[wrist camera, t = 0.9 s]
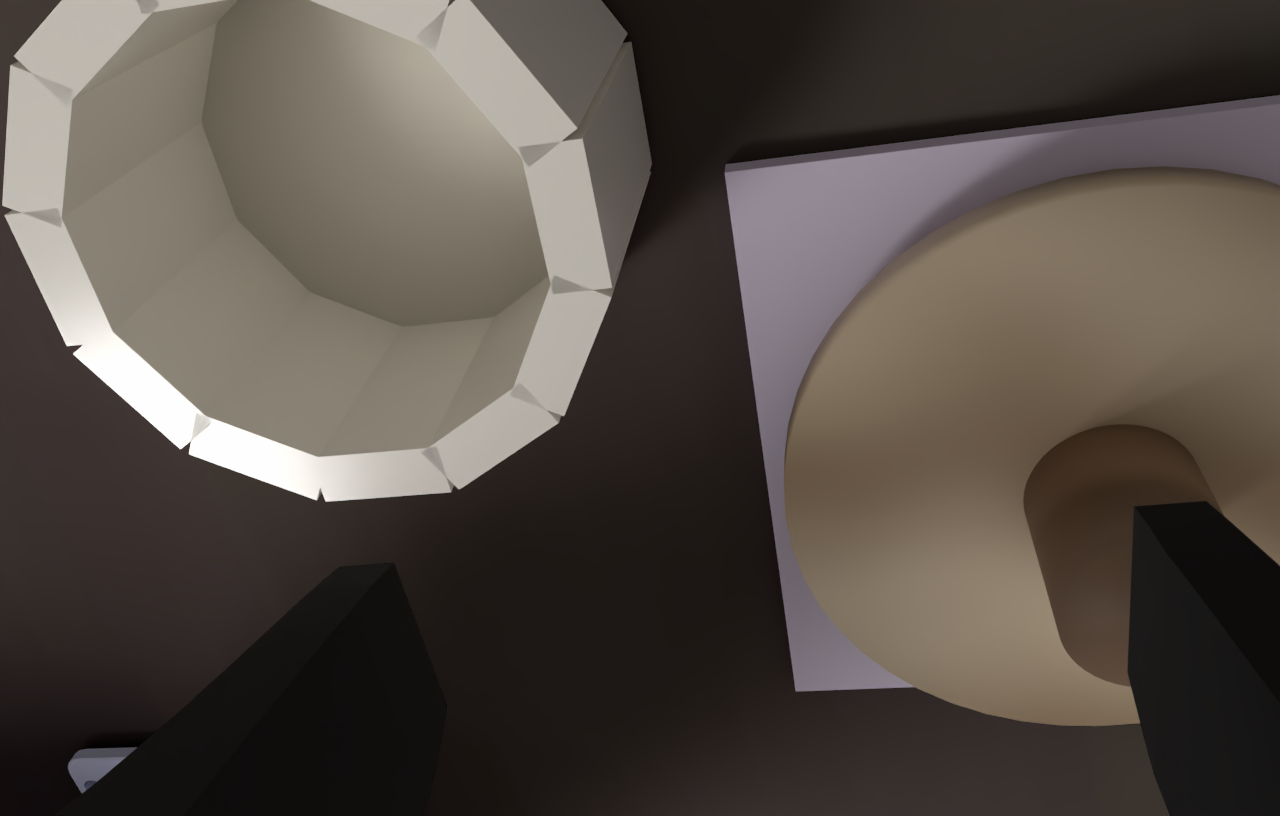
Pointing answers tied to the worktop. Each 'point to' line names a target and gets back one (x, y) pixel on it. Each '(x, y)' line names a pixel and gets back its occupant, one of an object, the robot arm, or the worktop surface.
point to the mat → (888, 226)
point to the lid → (1038, 430)
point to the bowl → (330, 222)
